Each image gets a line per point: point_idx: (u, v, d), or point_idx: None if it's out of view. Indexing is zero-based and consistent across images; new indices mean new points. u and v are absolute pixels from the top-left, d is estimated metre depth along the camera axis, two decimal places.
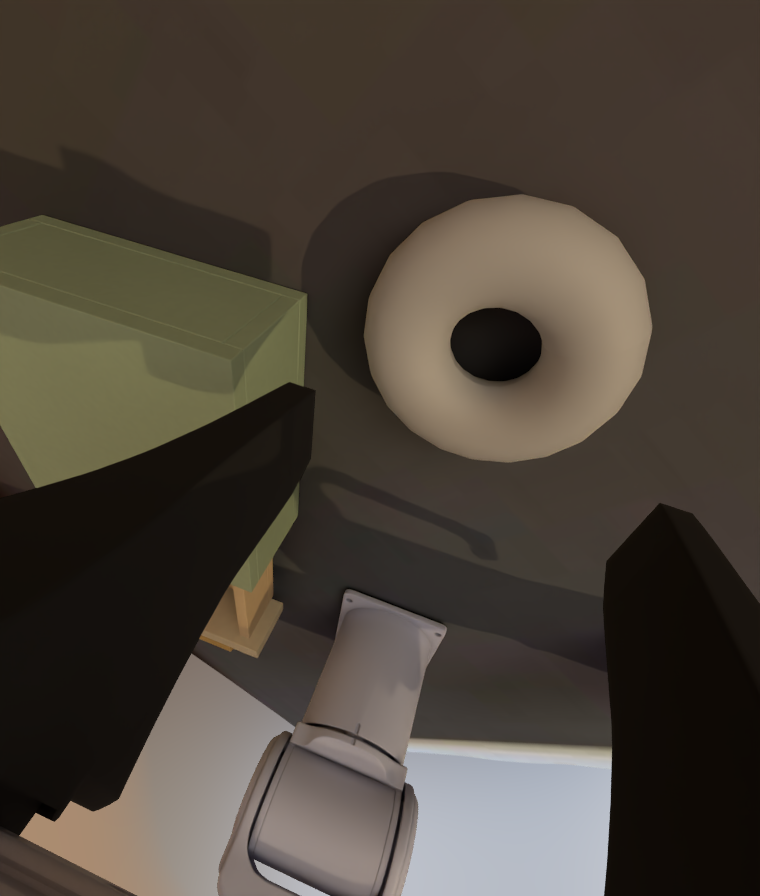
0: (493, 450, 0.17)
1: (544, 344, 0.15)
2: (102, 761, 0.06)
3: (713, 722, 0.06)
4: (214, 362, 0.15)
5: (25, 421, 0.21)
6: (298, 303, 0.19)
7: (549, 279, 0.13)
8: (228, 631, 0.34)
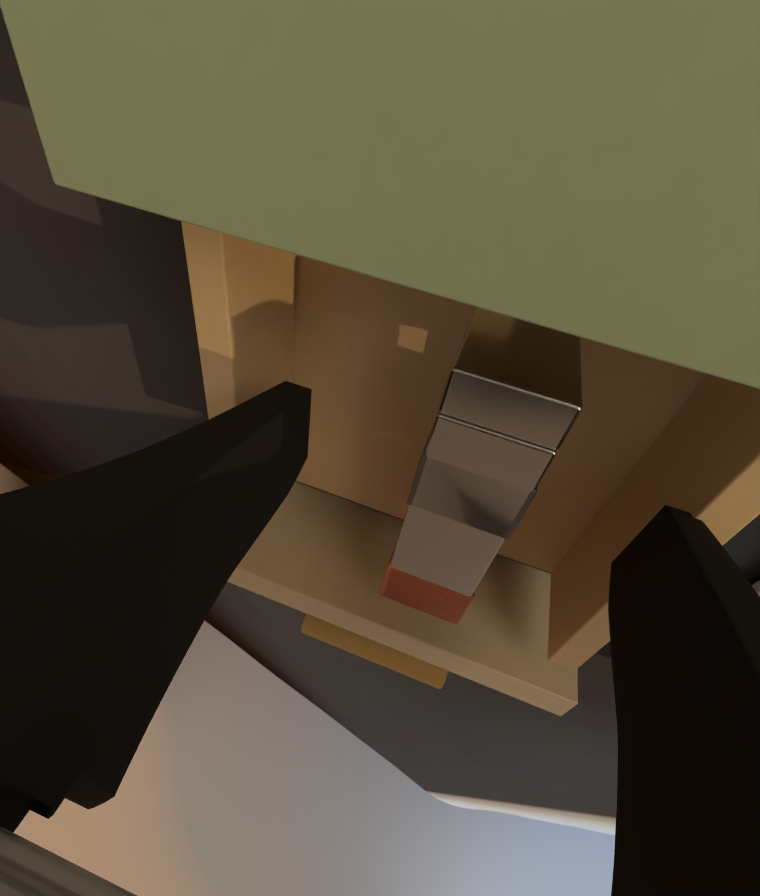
0: None
1: None
2: (97, 759, 0.06)
3: (721, 725, 0.06)
4: None
5: None
6: None
7: None
8: (490, 649, 0.14)
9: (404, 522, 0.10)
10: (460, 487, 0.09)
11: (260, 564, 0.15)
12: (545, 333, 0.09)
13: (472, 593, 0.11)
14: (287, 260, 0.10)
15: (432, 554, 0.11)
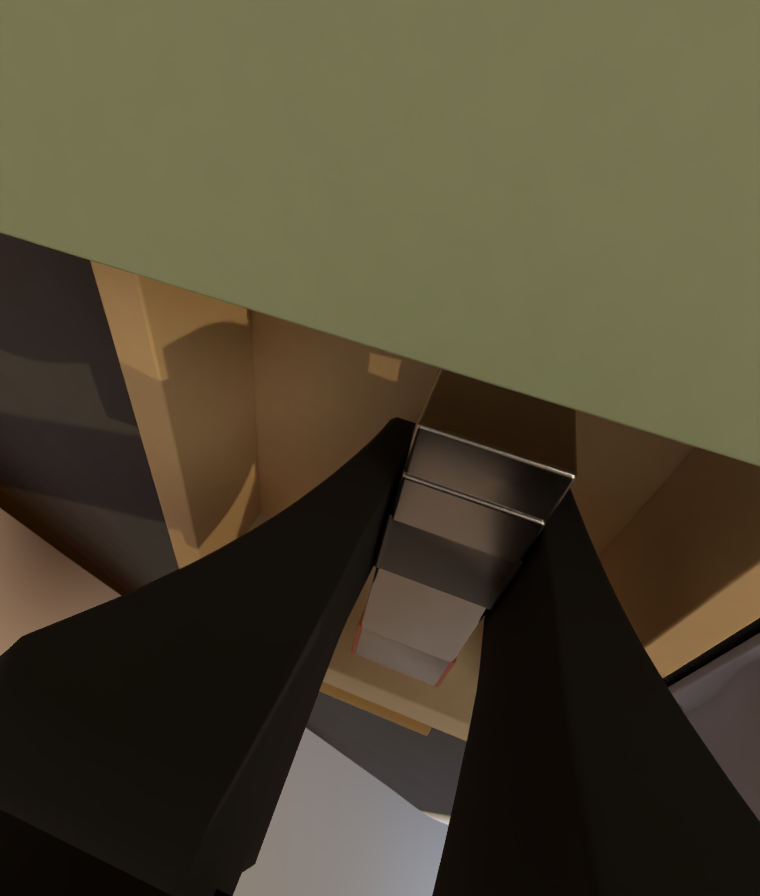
0: None
1: None
2: (257, 834, 0.06)
3: (528, 651, 0.06)
4: None
5: None
6: None
7: None
8: None
9: (373, 584, 0.09)
10: (434, 554, 0.08)
11: None
12: None
13: (453, 659, 0.10)
14: None
15: (406, 618, 0.09)
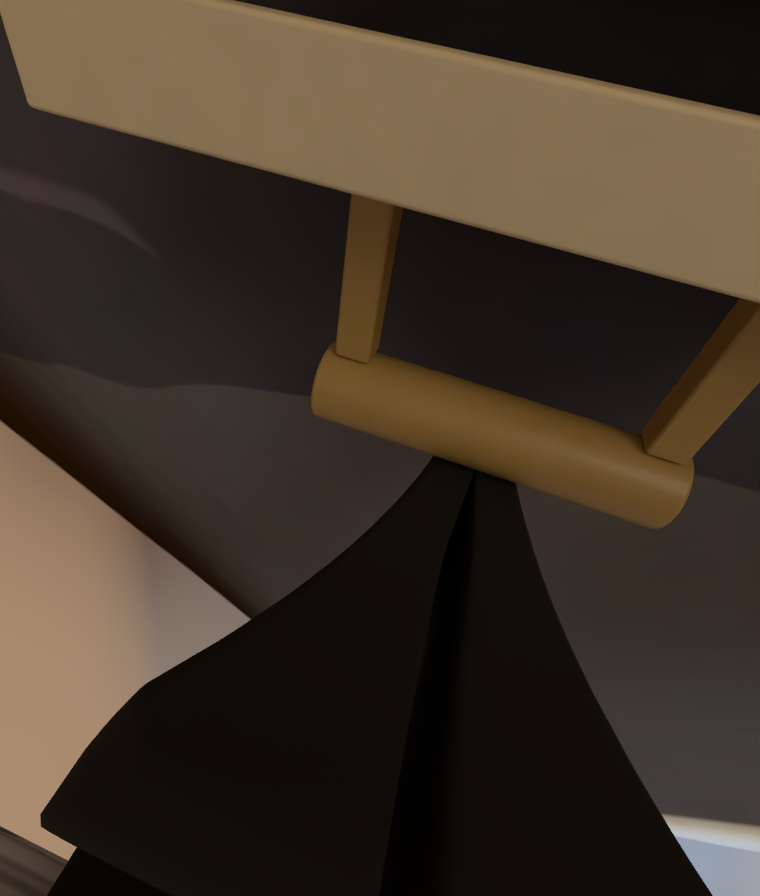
0: None
1: None
2: None
3: (450, 622, 0.06)
4: None
5: None
6: None
7: None
8: None
9: None
10: None
11: None
12: None
13: None
14: None
15: None
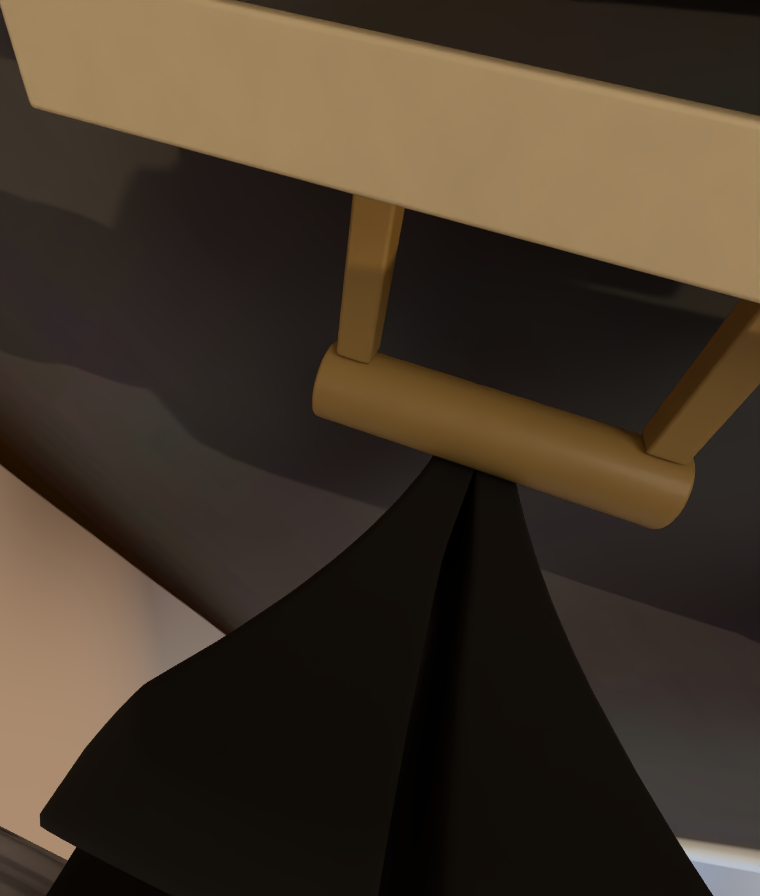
0: None
1: None
2: None
3: (451, 622, 0.06)
4: None
5: None
6: None
7: None
8: None
9: None
10: None
11: None
12: None
13: None
14: None
15: None
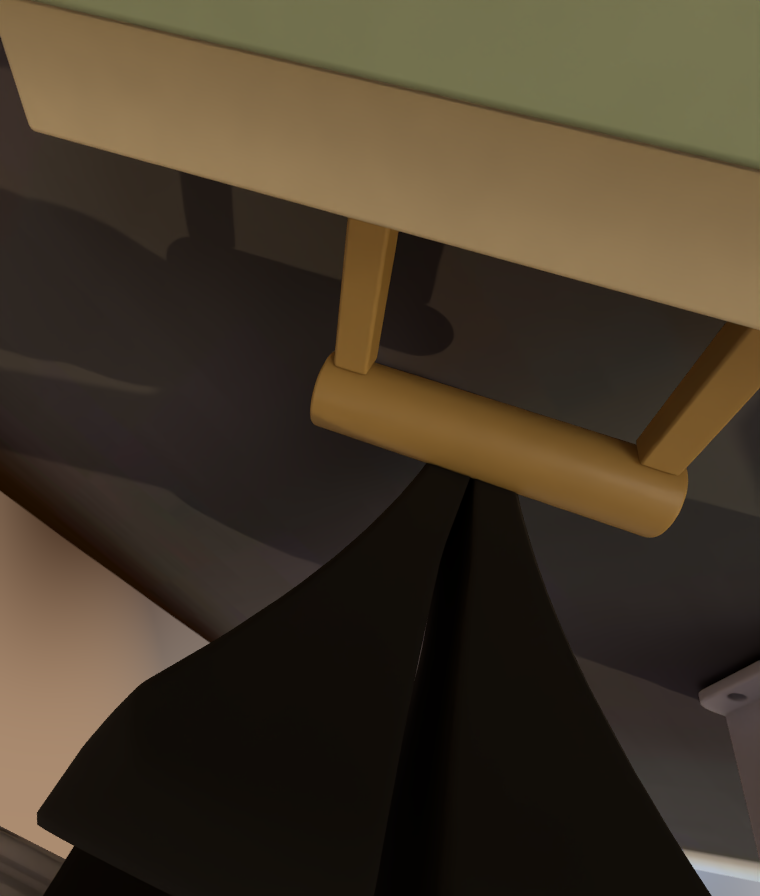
0: None
1: None
2: None
3: (450, 622, 0.06)
4: None
5: None
6: None
7: None
8: None
9: None
10: None
11: None
12: None
13: None
14: None
15: None
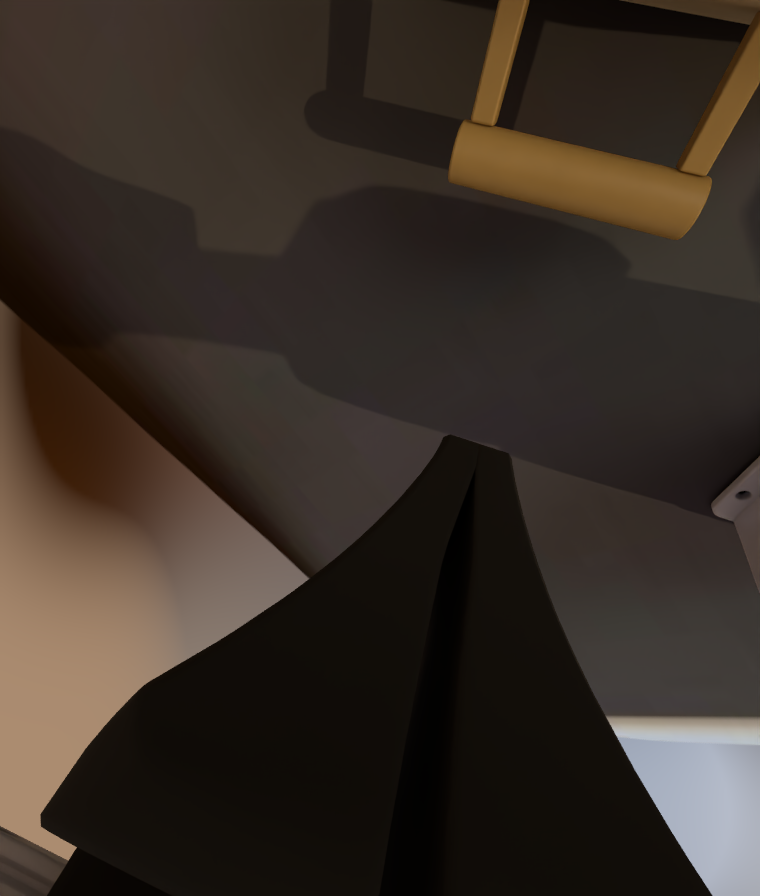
0: None
1: None
2: None
3: (450, 622, 0.06)
4: None
5: None
6: None
7: None
8: None
9: None
10: None
11: None
12: None
13: None
14: None
15: None
